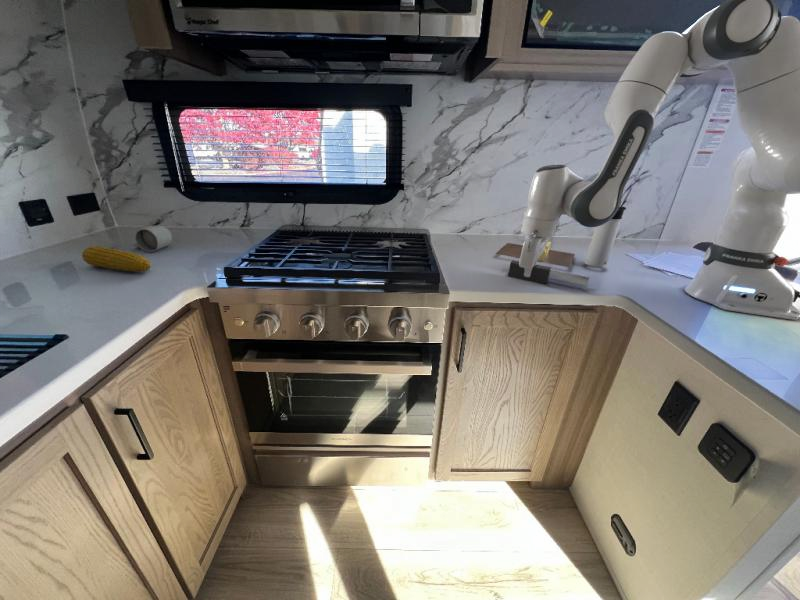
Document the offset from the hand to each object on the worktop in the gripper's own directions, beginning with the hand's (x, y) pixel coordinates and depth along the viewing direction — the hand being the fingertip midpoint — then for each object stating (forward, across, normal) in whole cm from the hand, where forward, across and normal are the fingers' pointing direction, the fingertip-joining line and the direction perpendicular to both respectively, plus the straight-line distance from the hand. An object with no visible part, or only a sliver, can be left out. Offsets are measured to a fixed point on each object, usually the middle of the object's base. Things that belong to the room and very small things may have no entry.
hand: (528, 274), depth 98 cm
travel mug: (+2, +24, -17) cm, 29 cm away
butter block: (0, +26, +1) cm, 26 cm away
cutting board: (+2, +23, +2) cm, 23 cm away
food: (+2, -62, +101) cm, 118 cm away
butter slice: (0, +17, +1) cm, 17 cm away
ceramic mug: (+2, -47, +114) cm, 123 cm away
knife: (+2, 0, -5) cm, 5 cm away
